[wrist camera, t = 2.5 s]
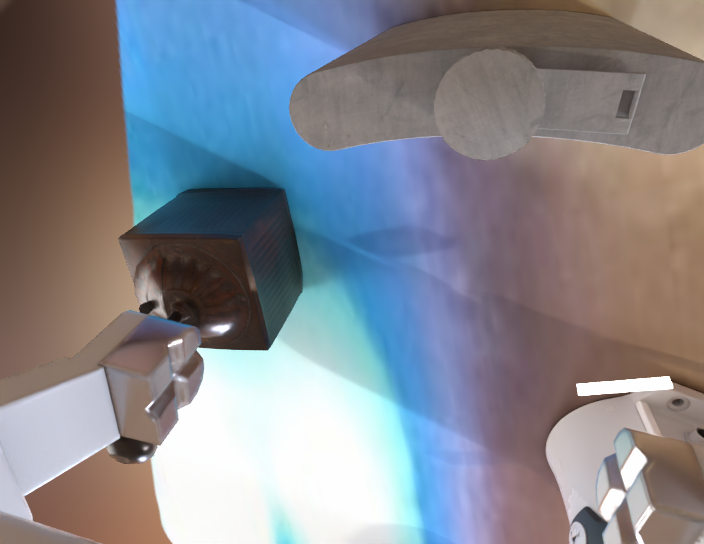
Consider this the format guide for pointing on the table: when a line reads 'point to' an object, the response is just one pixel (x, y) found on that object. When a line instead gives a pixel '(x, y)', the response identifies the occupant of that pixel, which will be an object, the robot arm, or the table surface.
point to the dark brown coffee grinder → (215, 272)
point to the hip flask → (506, 86)
